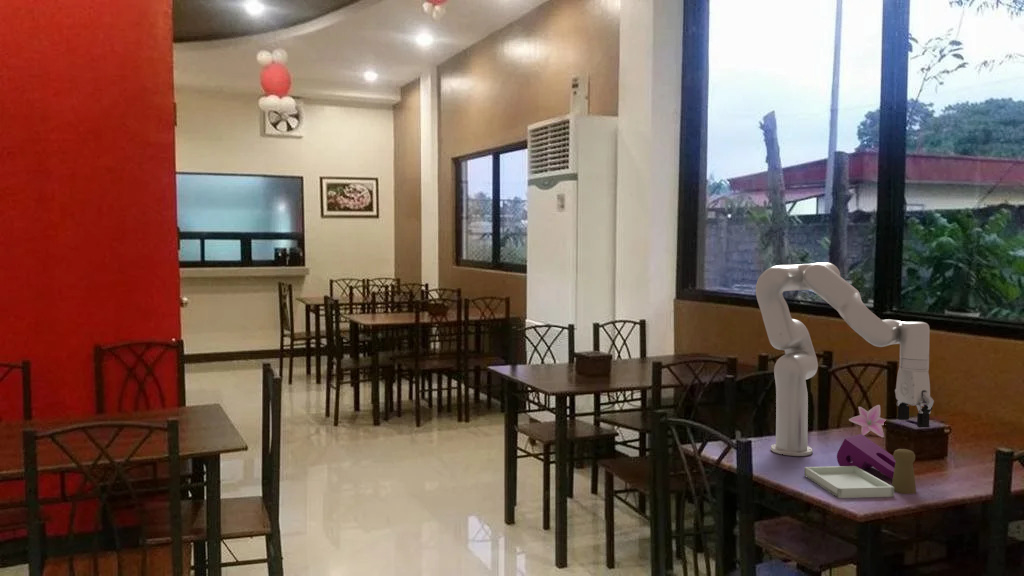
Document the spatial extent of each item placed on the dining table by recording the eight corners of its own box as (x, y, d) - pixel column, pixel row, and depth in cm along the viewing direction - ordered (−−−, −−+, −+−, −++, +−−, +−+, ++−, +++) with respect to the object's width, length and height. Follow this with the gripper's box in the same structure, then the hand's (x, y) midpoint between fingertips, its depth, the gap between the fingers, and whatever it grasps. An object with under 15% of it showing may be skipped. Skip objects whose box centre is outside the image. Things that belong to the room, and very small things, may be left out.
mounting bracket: (902, 495, 218) (849, 456, 231) (916, 472, 215) (861, 433, 228) (886, 501, 213) (832, 461, 225) (900, 477, 209) (844, 438, 222)
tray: (804, 475, 218) (804, 467, 218) (855, 474, 218) (855, 465, 218) (838, 498, 198) (838, 488, 198) (894, 496, 199) (894, 487, 198)
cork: (910, 487, 207) (911, 447, 206) (920, 494, 201) (921, 452, 200) (887, 486, 207) (888, 446, 207) (896, 493, 201) (897, 452, 201)
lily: (843, 435, 270) (848, 414, 265) (856, 417, 277) (861, 397, 272) (877, 450, 263) (883, 430, 258) (890, 432, 270) (896, 411, 265)
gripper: (885, 360, 227) (884, 417, 228) (919, 369, 210) (918, 430, 211) (909, 360, 228) (908, 416, 229) (945, 368, 211) (944, 430, 211)
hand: (913, 423), depth 220 cm, fingers open, 9 cm apart
